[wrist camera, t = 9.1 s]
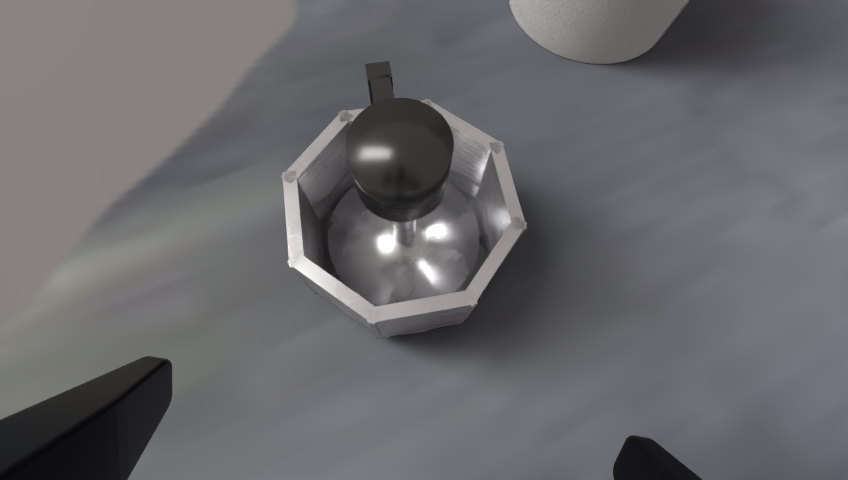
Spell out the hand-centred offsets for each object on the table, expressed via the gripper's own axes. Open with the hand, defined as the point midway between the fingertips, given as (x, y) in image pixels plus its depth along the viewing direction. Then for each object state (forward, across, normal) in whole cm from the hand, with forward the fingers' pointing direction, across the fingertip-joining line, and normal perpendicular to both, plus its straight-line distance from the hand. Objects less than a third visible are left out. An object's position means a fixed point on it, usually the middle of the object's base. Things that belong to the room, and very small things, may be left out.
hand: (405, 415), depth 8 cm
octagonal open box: (+16, +1, +1) cm, 16 cm away
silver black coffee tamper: (+15, 0, +2) cm, 15 cm away
